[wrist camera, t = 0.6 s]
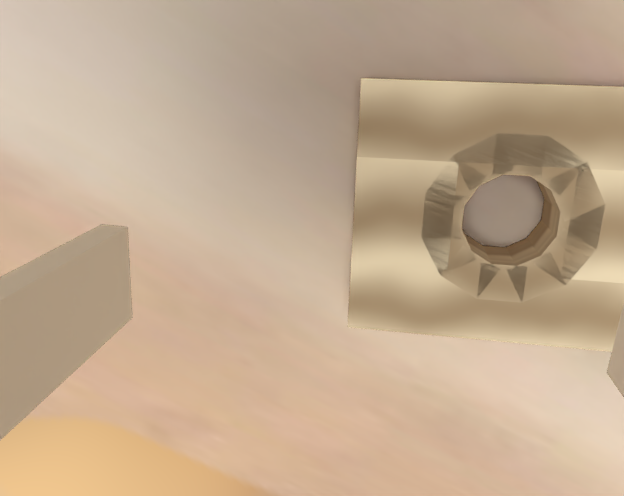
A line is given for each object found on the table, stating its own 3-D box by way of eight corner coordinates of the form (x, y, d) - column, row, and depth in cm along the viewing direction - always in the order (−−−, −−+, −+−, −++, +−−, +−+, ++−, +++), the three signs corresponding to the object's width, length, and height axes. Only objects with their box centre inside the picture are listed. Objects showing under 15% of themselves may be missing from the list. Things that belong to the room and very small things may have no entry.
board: (365, 78, 37) (361, 78, 33) (677, 88, 34) (711, 89, 31) (352, 304, 42) (347, 327, 38) (626, 328, 39) (650, 355, 35)
